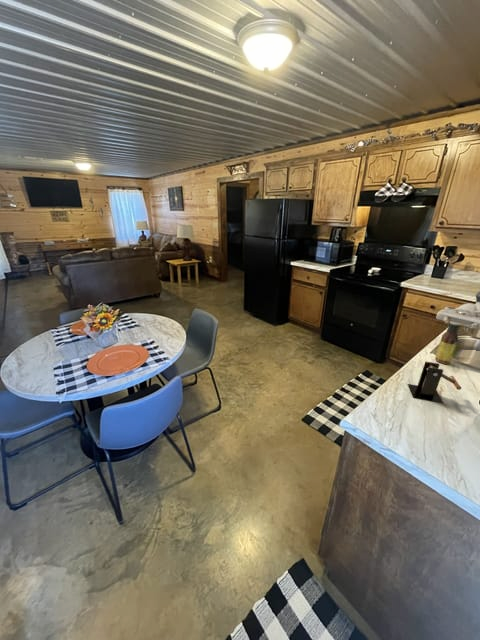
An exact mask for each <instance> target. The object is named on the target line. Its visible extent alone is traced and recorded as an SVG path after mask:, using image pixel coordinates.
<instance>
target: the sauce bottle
mask: <svg viewBox="0 0 480 640" xmlns="http://www.w3.org/2000/svg"><path fill="white" fill-rule="evenodd" d="M460 327H461V325H460V324H459V323H457V322H448V326H447V329H446V331H445V332H444V333H443V334H442V335H441V339H440V340H439V344H438V347H437V350H436V353H435V356H434V357H435V358H434V361H436V362H438V363H439V364H444V365H448V364H451V361H452V360H453V358H454V357H453V356H454V354H455V351H456V348H457V345H458V343H459V338H458V337H459V336H458V331H459V329H460Z"/></svg>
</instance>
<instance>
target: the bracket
mask: <svg viewBox="0 0 480 640" xmlns="http://www.w3.org/2000/svg"><path fill="white" fill-rule="evenodd" d="M430 365H433V366H434V367H436V368H430V367H429V366H430ZM428 367H429V368H428ZM439 367H440V363H439V362H438V363H437V362H430V361H425V362H424V365H423V368H422V370H421V373H420V375H419V380H418V382H417V385H416V384H411V383H407V387H408V389H409V392H410V394H411V398H412V399H417V400H420V401H426V402H432V403H438V404H443V405H444V401H443V399H442V397H441V396H440V395H439V393H438V390H437V389H438V387H439V384H440V381H441V379H442V377H441V376H442V374H444V370H443V368H439ZM426 368H428V371H427V369H426ZM437 368H438V369H437Z"/></svg>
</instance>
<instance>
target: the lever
mask: <svg viewBox="0 0 480 640" xmlns="http://www.w3.org/2000/svg"><path fill="white" fill-rule="evenodd" d="M429 367H430V368H436V367H434V366H433V365H430V366H429ZM429 367H428V368H429ZM428 368H426V369H427V371H428ZM437 369H439V368H437ZM441 378H443V379H444V380H446V381H448V382H450V383H451V384H453V386H454V387H455V389H456V390H457V391H460V390H462V387H461V385H460V384H459V383H458V381H457V379H456V378H455V377H454V375H449V376H447V375H446V374H444V373H442V376H441Z"/></svg>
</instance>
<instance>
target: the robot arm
mask: <svg viewBox="0 0 480 640" xmlns="http://www.w3.org/2000/svg"><path fill="white" fill-rule="evenodd" d="M475 301H476V303H471V302H468V303H467V302H466V303H463V304H461V305H459V306H458V307H449V306H445V307H444V308H443V309H440V310H439V311H438V312H437V313H436V316H435V319H436V320H439V321H443V322H444V323H445V324H449V322H457V323H459V324H460V326H461V327H462V326H463V327H467V328H468V329H470V330H473V329H474V330H475V329H476V330H480V291H478V292H477V293H476V294H475Z"/></svg>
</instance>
